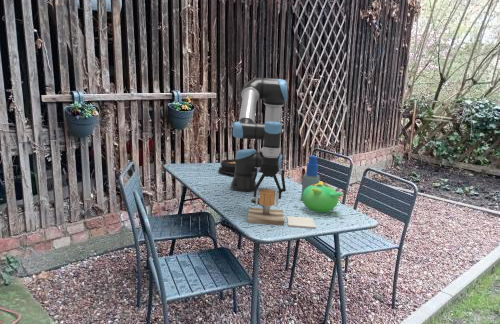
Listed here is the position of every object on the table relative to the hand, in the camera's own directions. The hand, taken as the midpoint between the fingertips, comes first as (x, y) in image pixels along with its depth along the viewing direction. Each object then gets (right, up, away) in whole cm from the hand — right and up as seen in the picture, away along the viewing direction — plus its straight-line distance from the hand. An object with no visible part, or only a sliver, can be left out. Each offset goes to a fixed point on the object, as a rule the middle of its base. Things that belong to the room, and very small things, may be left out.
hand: (266, 204), depth 175 cm
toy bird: (+27, -5, +17) cm, 33 cm away
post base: (0, -6, +1) cm, 6 cm away
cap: (0, +1, 0) cm, 1 cm away
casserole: (-20, +12, +89) cm, 92 cm away
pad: (+15, -8, -2) cm, 17 cm away
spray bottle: (+25, -2, +35) cm, 43 cm away
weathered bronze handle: (-2, -3, +19) cm, 20 cm away
